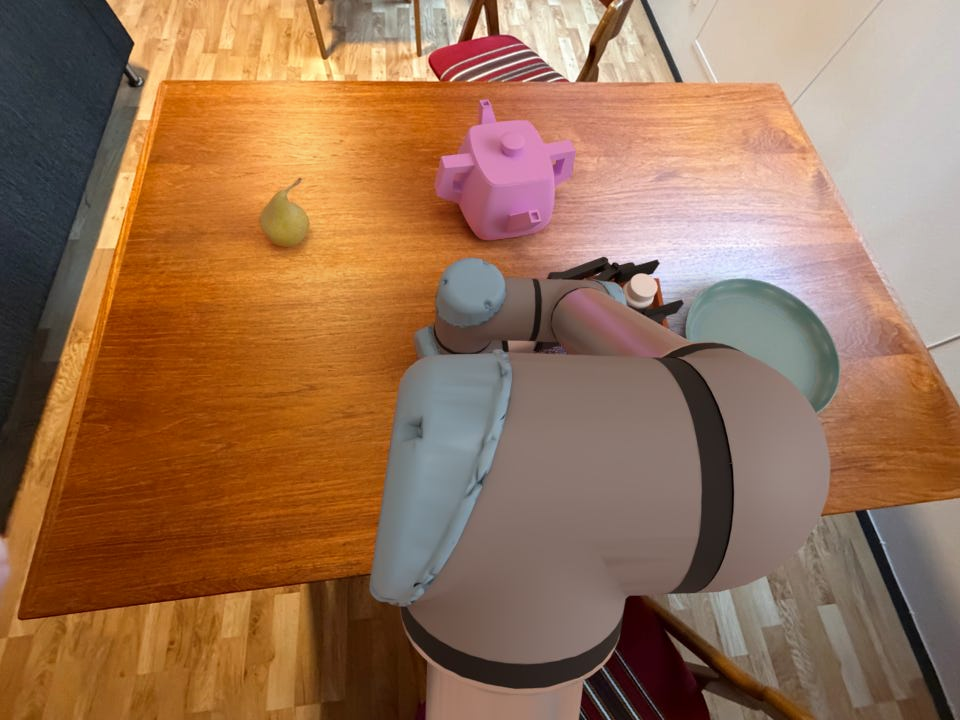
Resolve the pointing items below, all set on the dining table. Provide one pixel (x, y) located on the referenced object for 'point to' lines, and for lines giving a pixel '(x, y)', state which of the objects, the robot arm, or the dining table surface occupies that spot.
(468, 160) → the teapot
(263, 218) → the fruit
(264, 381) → the dining table surface
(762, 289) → the saucer
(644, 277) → the pill bottle
